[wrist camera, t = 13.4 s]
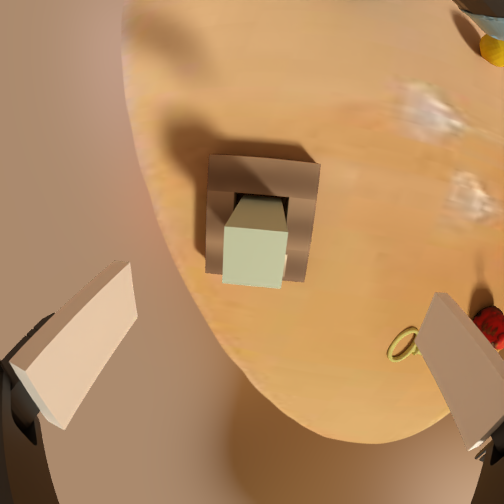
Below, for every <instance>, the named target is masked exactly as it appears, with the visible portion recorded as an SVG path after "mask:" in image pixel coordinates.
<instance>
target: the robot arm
mask: <svg viewBox="0 0 504 504" xmlns="http://www.w3.org/2000/svg"><path fill="white" fill-rule="evenodd" d="M452 1H454V2H455V3H456V4H457V5H458V7H459V9H460V10H461V11H462V12H463V13H465V14H467V15H468V16H469V17H470V18H471V19H472V20H473V21H474V22H475V23H476V24H477V25H478V26H479V27H480V28H481V29H482V30H483V31H484V32H485V33H486V34H488V35H489V36H491V37H493V38H495V39H498V40H502V41H504V0H452ZM137 318H138V316H137V310H136V303H135V297H134V291H133V283H132V275H131V267H130V263H129V262H123V261H116V260H115V261H114V262H112V263H111V264H110V265H109V266H108V267H106V268H105V269H104V270H103V271H102V272H100V273H99V274H98V275H97V276H96V277H95V278H94V279H92V280H91V281H90V282H89V283H88V284H87V285H86V286H84V287H83V288H82V289H81V290H80V291H79V292H78V293H77V294H76V295H74V296H73V297H72V298H71V299H70V300H69V301H68V302H67V303H66V304H65V305H64V306H63V307H61V308H60V309H59V310H58V311H57V312H56V313H52V314H51V315H49V316H47V317H45V318H43V319H42V320H41V321H40V322H39V323H38V324H37V325H36V326H35V327H34V329H31V331H29V333H27V336H25V337H24V338H23V339H22V340H21V341H20V342H19V343H18V344H17V345H16V346H15V347H14V348H13V349H12V350H11V351H10V352H9V353H8V354H7V355H6V356H5V358H4V359H3V360H1V361H0V504H59V502H58V499H57V496H56V493H55V489H54V486H53V483H52V479H51V476H50V472H49V468H48V464H47V460H46V455H45V450H44V445H43V440H42V433H41V427H40V422H39V419H38V417H37V414H38V413H39V411H41V412H42V414H43V415H44V417H45V418H46V419H47V421H49V422H51V423H52V424H54V425H56V426H58V427H60V428H61V429H63V430H65V429H66V427H67V425H68V423H69V422H70V420H71V418H72V417H73V415H74V413H75V412H76V410H77V408H78V407H79V405H80V403H81V402H82V400H83V399H84V397H85V395H86V394H87V392H88V391H89V389H90V387H91V385H92V384H93V383H94V381H95V379H96V378H97V376H98V375H99V373H100V372H101V370H102V369H103V367H104V366H105V364H106V363H107V361H108V360H109V358H110V356H111V355H112V353H113V352H114V351H115V349H116V348H117V346H118V345H119V343H120V342H121V340H122V339H123V337H124V336H125V334H126V333H127V332H128V330H129V328H130V327H131V326H132V325H133V323H134V322H135V320H136V319H137ZM414 342H415V344H416V346H417V347H418V349H419V351H420V353H421V354H422V356H423V358H424V360H425V362H426V364H427V365H428V367H429V369H430V371H431V373H432V375H433V377H434V379H435V381H436V383H437V385H438V386H439V388H440V390H441V393H442V395H443V397H444V399H445V401H446V403H447V405H448V407H449V409H450V411H451V414H452V416H453V418H454V420H455V422H456V425H457V427H458V429H459V432H460V434H461V436H462V439H463V441H464V444H465V446H466V449H467V451H469V450H471V449H473V448H476V447H478V446H480V445H481V444H482V443H483V442H484V441H485V440H486V439H487V438H489V437H490V436H491V437H492V441H491V442H490V443H488V444H487V445H486V446H485V447H484V448H483V449H482V450H481V451H480V452H479V453H478V454H477V455H476V457H475V459H477V458H478V457H480V456H481V455H482V454H483V453H486V454H485V455H483V456H482V457H481V458H480V461H483V466H482V470H481V474H480V477H479V481H478V484H477V487H476V490H475V493H474V496H473V499H472V501H471V504H504V361H503V359H502V358H501V356H500V355H499V354H498V352H497V351H496V350H495V349H494V347H493V346H492V345H491V343H490V342H489V341H488V340H487V338H486V337H485V336H484V335H483V333H482V332H481V331H480V330H479V329H478V327H477V326H476V325H475V324H474V323H473V321H472V320H471V319H470V318H469V317H468V316H467V315H466V313H465V312H464V311H463V310H462V309H461V308H460V307H459V306H458V304H457V303H456V302H455V301H454V300H453V299H452V298H451V297H450V296H449V295H448V294H447V293H438V292H435V294H434V297H433V299H432V302H431V304H430V307H429V309H428V312H427V314H426V316H425V319H424V321H423V323H422V325H421V328H420V330H419V332H418V334H417V336H416V338H415V341H414Z"/></svg>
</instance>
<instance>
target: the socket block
mask: <svg viewBox="0 0 504 504" xmlns="http://www.w3.org/2000/svg"><path fill="white" fill-rule="evenodd" d="M320 167H321V164H318V163H312V162H304V161H296V160H287V159H277V158H266V157H254V156H239V155H221V154H211V155H209V165H208V186H207V213H206V266H205V273H211V274H221V275H223V248H224V226H225V225H226V223H227V221H228V220H229V218H230V216H231V215H232V213H233V211H234V210H235V208H236V204H237V193H250V194H262V195H273V196H283V197H287V205H286V215H285V219H286V224H287V229H288V238H287V246H286V254H285V262H284V270H283V277H282V280H283V281H295V282H304V280H305V275H306V269H307V263H308V256H309V250H310V244H311V237H312V230H313V223H314V216H315V208H316V201H317V193H318V184H319V176H320Z"/></svg>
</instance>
